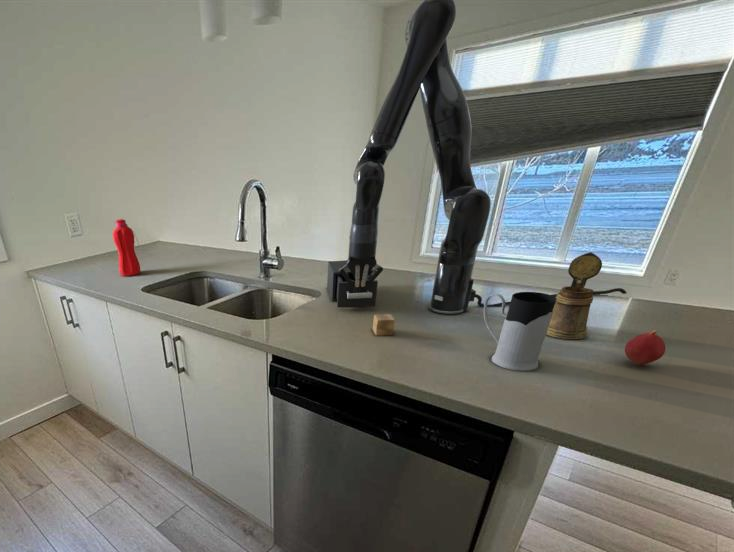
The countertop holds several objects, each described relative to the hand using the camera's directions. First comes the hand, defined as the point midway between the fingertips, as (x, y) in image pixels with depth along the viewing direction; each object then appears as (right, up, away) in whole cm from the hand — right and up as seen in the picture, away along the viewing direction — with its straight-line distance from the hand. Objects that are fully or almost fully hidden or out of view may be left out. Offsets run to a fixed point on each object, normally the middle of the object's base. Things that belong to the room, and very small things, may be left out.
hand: (358, 298), depth 123 cm
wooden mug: (+46, -13, -21) cm, 52 cm away
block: (+2, -12, -13) cm, 18 cm away
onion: (+46, -23, -38) cm, 64 cm away
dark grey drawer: (+1, 0, +8) cm, 8 cm away
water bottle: (-86, +27, +72) cm, 115 cm away
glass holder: (+23, -21, -31) cm, 44 cm away
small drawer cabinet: (+3, +6, +19) cm, 20 cm away
